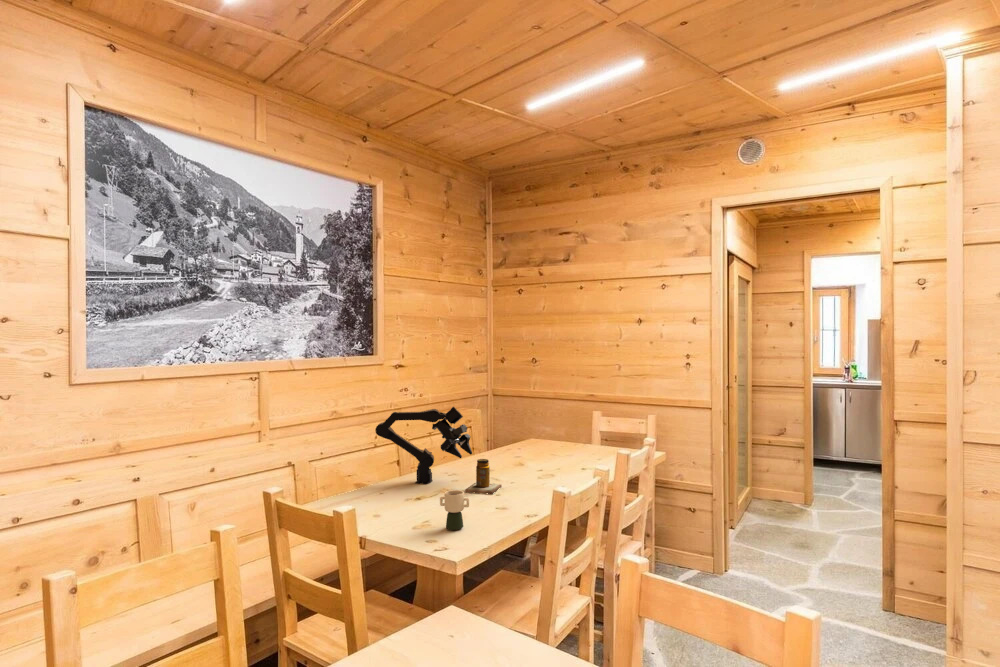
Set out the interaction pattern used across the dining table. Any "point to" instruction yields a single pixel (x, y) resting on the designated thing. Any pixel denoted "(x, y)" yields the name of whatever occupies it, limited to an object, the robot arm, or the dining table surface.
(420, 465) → the robot arm
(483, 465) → the condiment
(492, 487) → the plinth
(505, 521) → the dining table surface
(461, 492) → the character mug
